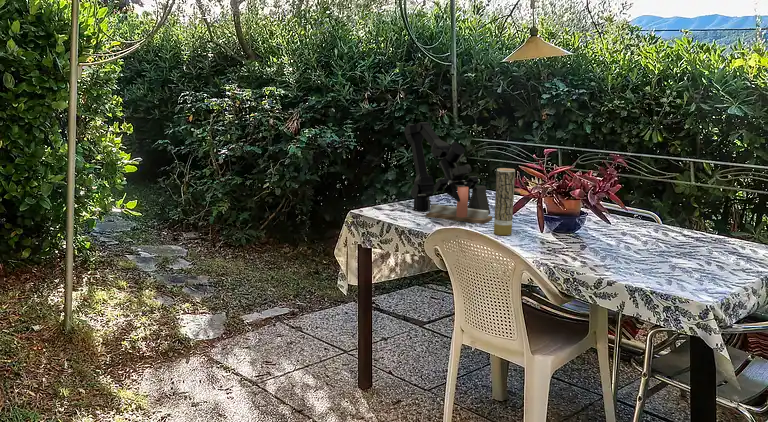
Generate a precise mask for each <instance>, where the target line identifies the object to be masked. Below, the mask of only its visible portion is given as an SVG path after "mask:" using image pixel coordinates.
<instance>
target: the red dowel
mask: <svg viewBox="0 0 768 422" xmlns="http://www.w3.org/2000/svg"><path fill="white" fill-rule="evenodd" d="M468 188H469V187H466V186H457V187H456V191H457V193H458V195H459V198H460V202H458V201H457V200H456V207H457V213H456V216H457V217H467V212H468V204H469V201H468Z"/></svg>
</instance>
